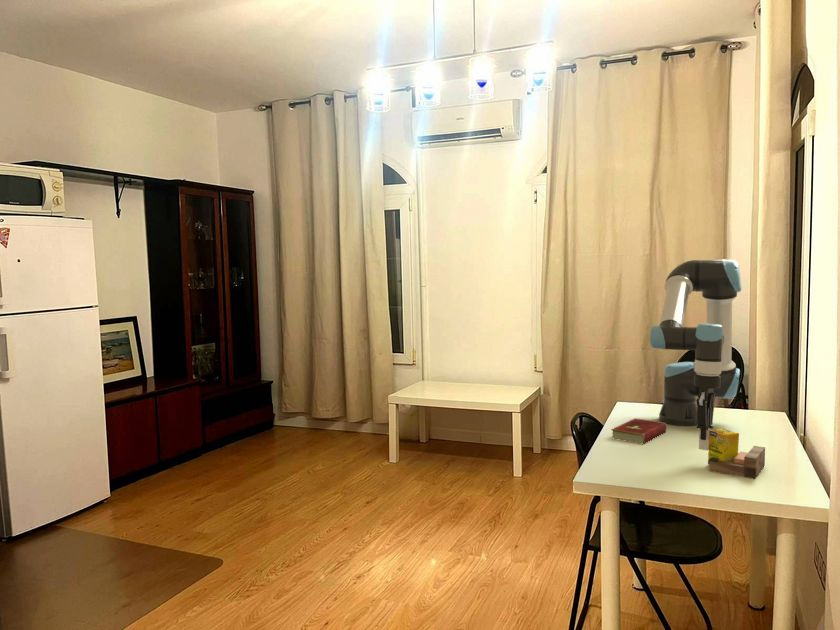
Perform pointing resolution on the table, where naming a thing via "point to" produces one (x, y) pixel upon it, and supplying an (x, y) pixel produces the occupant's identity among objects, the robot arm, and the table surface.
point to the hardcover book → (639, 430)
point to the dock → (749, 469)
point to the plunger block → (740, 458)
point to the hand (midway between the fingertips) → (703, 449)
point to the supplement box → (723, 445)
